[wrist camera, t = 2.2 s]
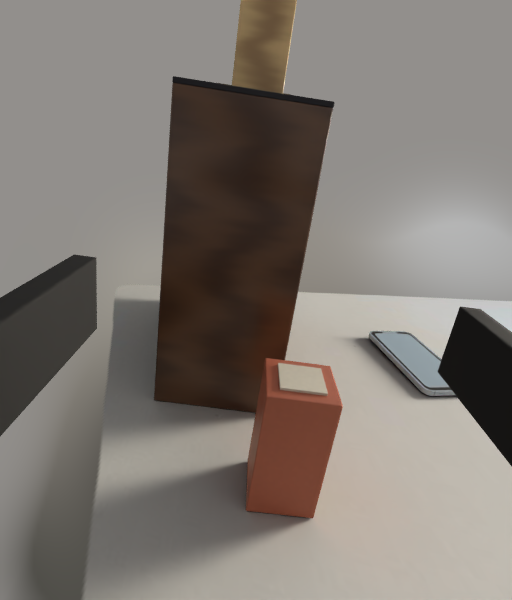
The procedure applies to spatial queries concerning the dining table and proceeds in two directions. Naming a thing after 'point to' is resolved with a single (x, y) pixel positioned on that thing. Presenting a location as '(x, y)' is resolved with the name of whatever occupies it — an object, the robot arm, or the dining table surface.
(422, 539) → the dining table surface
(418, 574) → the dining table surface
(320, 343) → the dining table surface
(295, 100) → the black mat
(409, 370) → the smartphone
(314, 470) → the orange block
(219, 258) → the stand
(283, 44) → the wooden pillar block
